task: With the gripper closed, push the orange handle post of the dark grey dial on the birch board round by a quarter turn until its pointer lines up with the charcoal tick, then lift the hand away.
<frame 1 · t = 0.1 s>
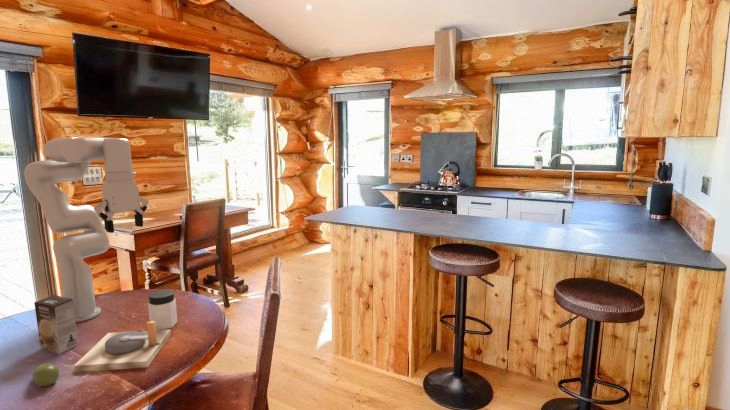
hand: (125, 229, 133), 37 cm above the table, tool pointing down, fingers open, 9 cm apart
coffee box: (59, 347, 131), on the table
jar: (164, 325, 146), on the table
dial: (131, 334, 127), point 6 cm above the table, hinge at 0.0°
board: (126, 351, 128), on the table
pear: (46, 381, 113), on the table
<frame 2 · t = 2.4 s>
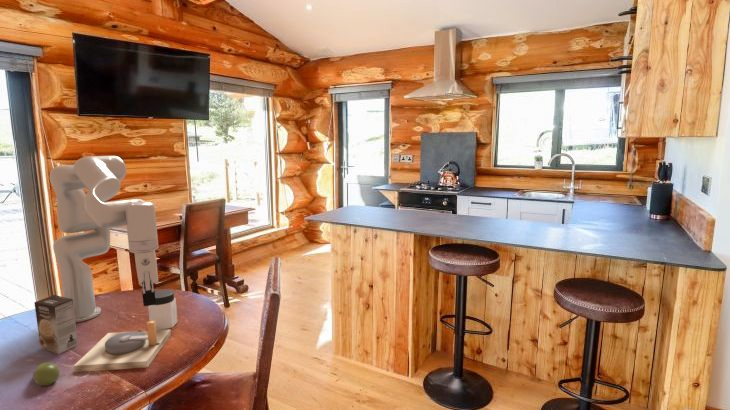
hand: (149, 304, 120), 18 cm above the table, tool pointing down, fingers closed
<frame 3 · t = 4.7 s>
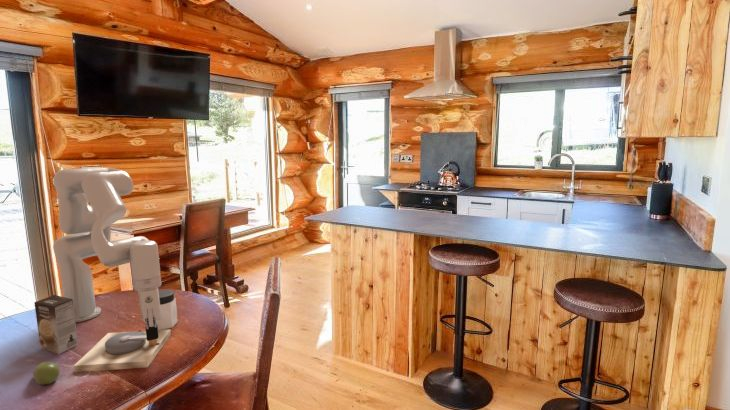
hand: (152, 338, 125), 6 cm above the table, tool pointing down, fingers closed
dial: (131, 334, 127), point 6 cm above the table, hinge at 1.4°, touching gripper
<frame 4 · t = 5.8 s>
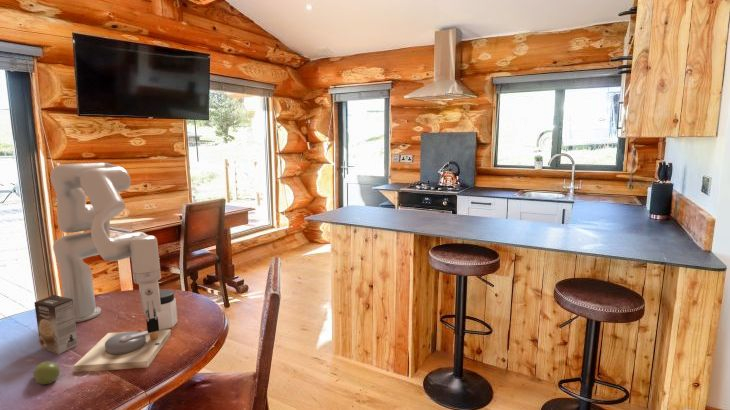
hand: (153, 330, 129), 6 cm above the table, tool pointing down, fingers closed
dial: (131, 332, 128), point 6 cm above the table, hinge at 30.4°, touching gripper
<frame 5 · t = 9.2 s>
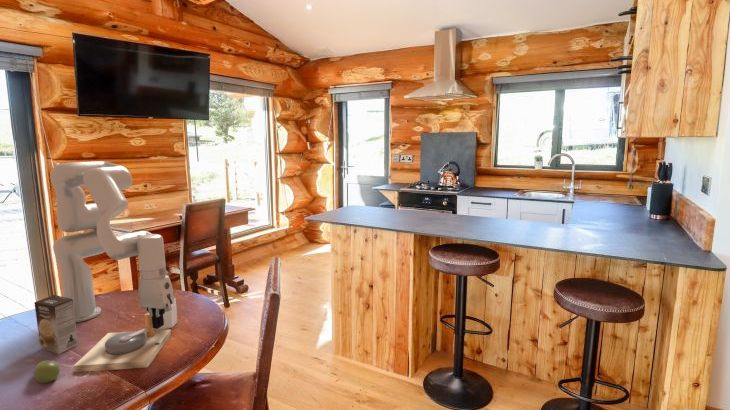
hand: (158, 326, 133), 6 cm above the table, tool pointing down, fingers closed
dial: (130, 332, 129), point 6 cm above the table, hinge at 52.5°, touching gripper
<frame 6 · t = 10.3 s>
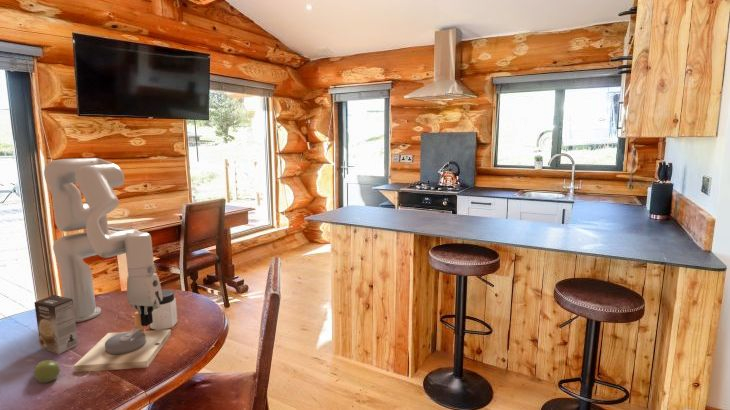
hand: (147, 324, 134), 6 cm above the table, tool pointing down, fingers closed
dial: (128, 331, 129), point 6 cm above the table, hinge at 83.0°, touching gripper
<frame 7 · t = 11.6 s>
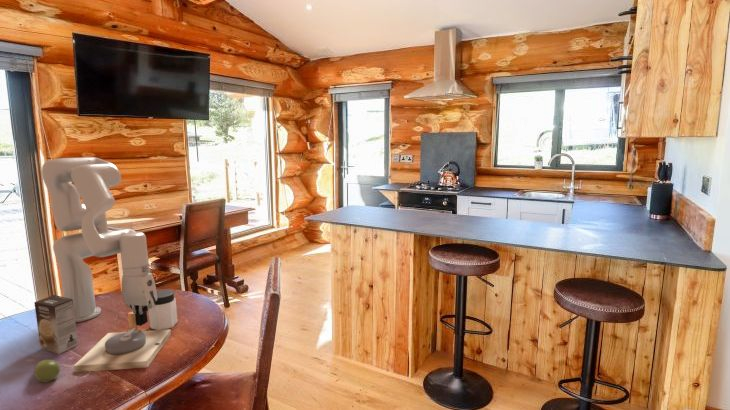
hand: (142, 323, 134), 6 cm above the table, tool pointing down, fingers closed
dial: (126, 331, 129), point 6 cm above the table, hinge at 97.2°, touching gripper
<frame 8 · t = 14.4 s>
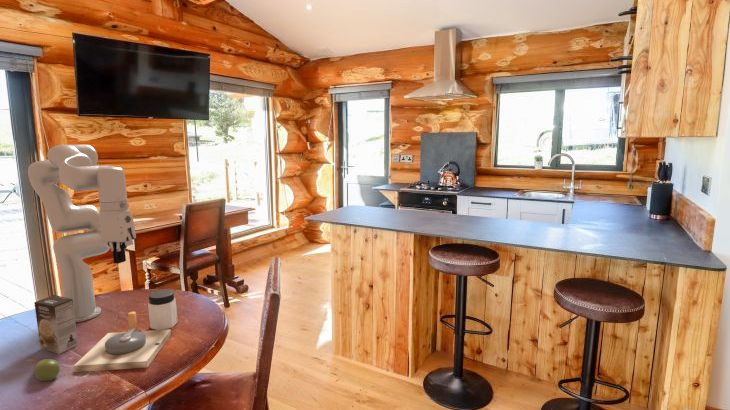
hand: (119, 262, 131), 27 cm above the table, tool pointing down, fingers closed
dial: (126, 331, 129), point 6 cm above the table, hinge at 97.2°
at the end: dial at +97° (first picture: +0°); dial touching nothing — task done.
